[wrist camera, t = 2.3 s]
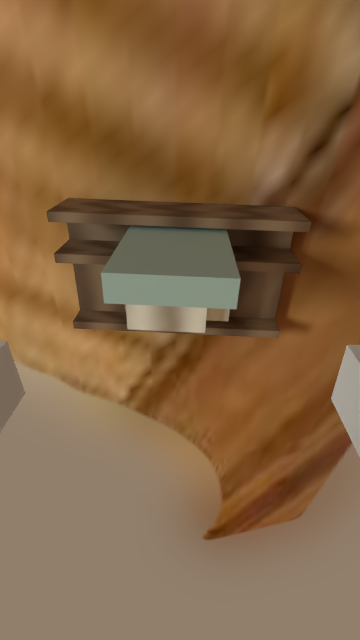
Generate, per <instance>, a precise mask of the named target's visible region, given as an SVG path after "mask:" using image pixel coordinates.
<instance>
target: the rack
mask: <svg viewBox="0 0 360 640" xmlns="http://www.w3.org/2000/svg"><path fill="white" fill-rule="evenodd" d="M47 217H48V222H67V225H68V231H69V238H70V239H69V240H68V241H67V242H66V243H65V244H64V245H63V246H62V247H61V248H60V249H59V250H58V251H56V252H55V253H54V256H55V262H56V263H73V265H74V272H75V279H76V285H77V292H78V299H79V305H80V311H79V313H78V314H77V316H76V318H75V319H74V321H73V325H74V328H79V329H100V330H121V331H142V332H163V333H184V334H206V335H227V336H248V337H269V338H279V334H280V330H279V328H278V325H277V323H276V320H275V317H276V312H277V307H278V302H279V298H280V293H281V288H282V283H283V279H284V274H285V273H300V270H301V265H302V264H301V263H300V261H299V260H298V259H297V257H296V256H295V255H294V253H293V252H292V251H291V249H290V246H291V241H292V236H293V232H310V227H311V223H312V222H311V221H310V220H309V219H308V218H306V217H305V216H304V215H303V214H302V213H301V212H299V211H298V210H297V209H296V208H295V207H278V206H252V205H227V204H201V203H176V202H151V201H125V200H100V199H75V198H68V199H66V200H65V201H63V202H61V203H60V204H58V205H56V206H55V207H53V208H51V209H50V210H48V211H47ZM130 225H142V226H166V227H191V228H215V229H227V233H228V236H229V240H230V243H231V247H232V250H233V254H234V257H235V261H236V264H237V268H238V271H239V275H240V278H241V280H240V287H239V294H238V302H237V309H230V312H229V320H228V321H209V320H206V327H205V333H194V332H173V331H152V330H131V329H127V315H126V311H125V304H108V303H104V298H103V288H102V278H101V272H102V270H103V269H104V267H105V265H106V264H107V262H108V261H109V259H110V257H111V256H112V254H113V253H114V251H115V249H116V248H117V246H118V245H119V243H120V241H121V240H122V238H123V237H124V235H125V233H126V232H127V230H128V229H129V227H130Z"/></svg>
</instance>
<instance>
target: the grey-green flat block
mask: <svg viewBox="0 0 360 640" xmlns="http://www.w3.org/2000/svg"><path fill="white" fill-rule="evenodd" d="M101 278H102V288H103V298H104V303H108V304H130V305H152V306H174V307H196V308H217V309H237V302H238V294H239V287H240V280H241V278H240V275H239V271H238V268H237V264H236V261H235V257H234V254H233V250H232V247H231V243H230V240H229V236H228V233H227V229H215V228H191V227H166V226H142V225H130V227H129V229H128V230H127V232H126V233H125V235H124V237H123V238H122V240H121V241H120V243H119V245H118V246H117V248H116V249H115V251H114V253H113V254H112V256H111V257H110V259H109V261H108V262H107V264H106V265H105V267H104V269H103V270H102V272H101Z"/></svg>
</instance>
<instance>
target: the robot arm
mask: <svg viewBox="0 0 360 640" xmlns="http://www.w3.org/2000/svg"><path fill="white" fill-rule="evenodd" d="M24 394H25V391H24V388H23V385H22V383H21V380H20V377H19V374H18V371H17V368H16V366H15V363H14V360H13V357H12V354H11V351H10V348H9V346H8V343H7V341H0V432H1V430H2V429H3V427H4V426H5V424H6V422H7V421H8V419H9V418H10V416H11V415H12V413H13V411H14V410H15V408H16V407H17V405H18V404H19V402H20V400H21V399H22V397H23V396H24ZM331 400H332V402H333V404H334V406H335V408H336V410H337V412H338V414H339V416H340V418H341V420H342V422H343V424H344V426H345V428H346V430H347V432H348V434H349V436H350V439H351V441H352V443H353V445H354V446H355V449H356V451H357V453H358V455H359V457H360V345H347V347H346V351H345V354H344V357H343V361H342V364H341V367H340V371H339V374H338V377H337V381H336V384H335V387H334V391H333V394H332V397H331Z"/></svg>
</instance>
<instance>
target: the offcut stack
mask: <svg viewBox="0 0 360 640" xmlns="http://www.w3.org/2000/svg"><path fill="white" fill-rule="evenodd" d="M125 311H126V315H127V329H131V330H152V331H173V332H194V333H205V327H206V320H209V321H228V320H229V312H230V309H217V308H196V307H174V306H152V305H130V304H125Z"/></svg>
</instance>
